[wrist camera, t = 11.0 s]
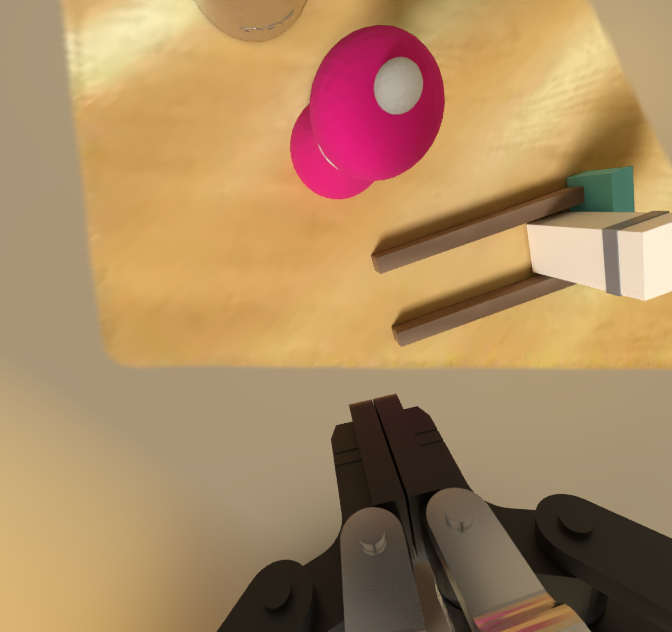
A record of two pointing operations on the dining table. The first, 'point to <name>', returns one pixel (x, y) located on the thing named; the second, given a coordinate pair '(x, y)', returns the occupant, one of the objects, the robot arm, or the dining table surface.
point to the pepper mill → (368, 112)
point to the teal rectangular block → (605, 190)
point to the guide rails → (467, 234)
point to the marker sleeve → (606, 250)
